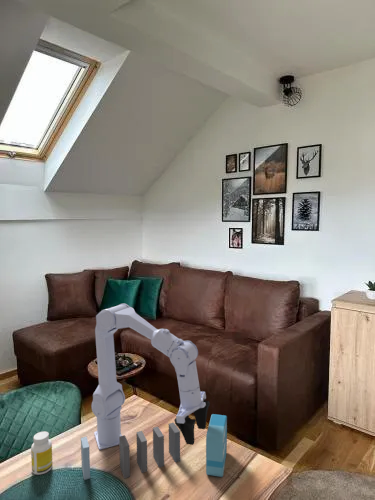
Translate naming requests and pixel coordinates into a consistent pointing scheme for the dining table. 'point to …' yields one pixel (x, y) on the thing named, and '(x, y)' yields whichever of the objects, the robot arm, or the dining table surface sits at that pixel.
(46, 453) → the supplement bottle
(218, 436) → the data package
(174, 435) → the domino
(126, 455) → the domino
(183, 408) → the robot arm
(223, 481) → the dining table surface
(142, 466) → the domino
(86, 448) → the slate domino
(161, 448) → the domino
